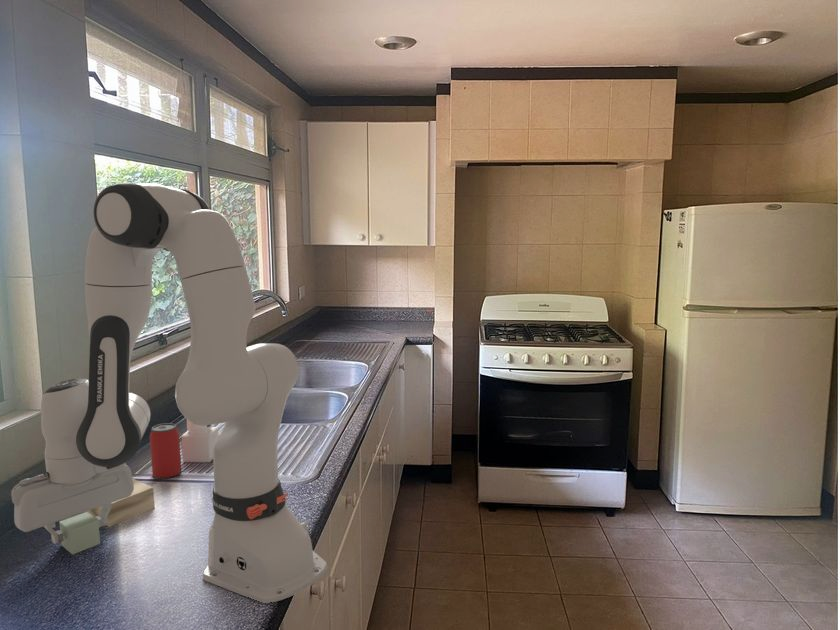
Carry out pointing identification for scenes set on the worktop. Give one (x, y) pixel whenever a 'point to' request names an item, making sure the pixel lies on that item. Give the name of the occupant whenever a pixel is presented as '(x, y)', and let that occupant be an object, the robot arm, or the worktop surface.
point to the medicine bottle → (198, 443)
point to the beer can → (165, 450)
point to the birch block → (129, 504)
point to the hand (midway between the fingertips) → (80, 533)
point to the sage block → (80, 532)
